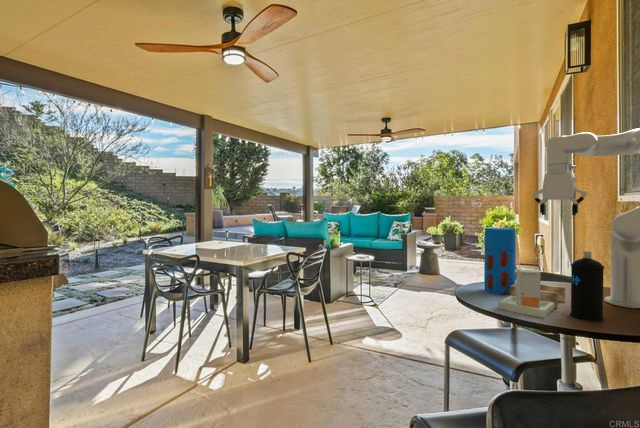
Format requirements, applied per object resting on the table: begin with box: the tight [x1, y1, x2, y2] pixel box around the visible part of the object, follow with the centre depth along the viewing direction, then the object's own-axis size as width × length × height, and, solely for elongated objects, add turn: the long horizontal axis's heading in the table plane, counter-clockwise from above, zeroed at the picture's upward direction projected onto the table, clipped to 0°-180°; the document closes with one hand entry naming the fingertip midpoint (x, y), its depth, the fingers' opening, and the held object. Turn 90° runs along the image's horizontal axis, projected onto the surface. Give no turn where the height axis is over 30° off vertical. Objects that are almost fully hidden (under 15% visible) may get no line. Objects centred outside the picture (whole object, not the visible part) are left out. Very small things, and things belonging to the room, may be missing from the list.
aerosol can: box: [569, 250, 606, 323], centre depth 104 cm, size 8×8×20 cm
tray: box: [498, 295, 555, 319], centre depth 113 cm, size 13×12×2 cm
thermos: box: [483, 227, 517, 296], centre depth 135 cm, size 11×11×25 cm
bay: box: [508, 282, 566, 309], centre depth 123 cm, size 14×12×5 cm
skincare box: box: [515, 269, 542, 309], centre depth 113 cm, size 6×4×12 cm
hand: (558, 215), depth 130 cm, fingers open, 9 cm apart
